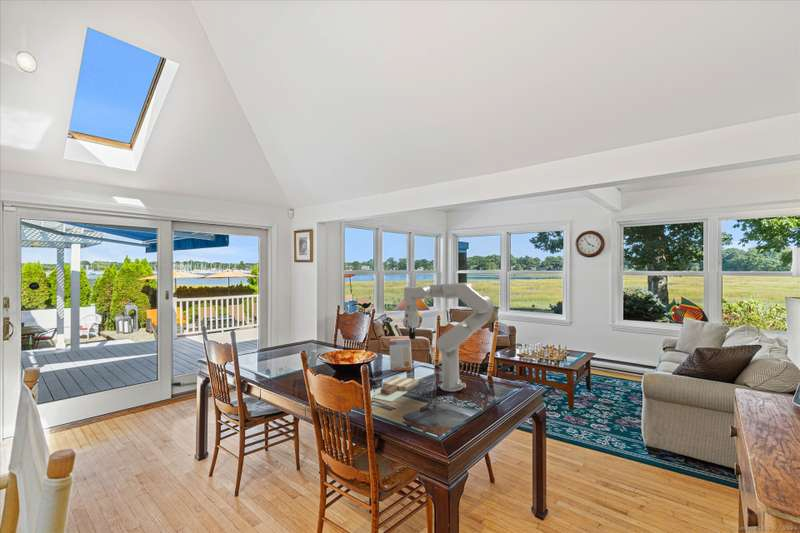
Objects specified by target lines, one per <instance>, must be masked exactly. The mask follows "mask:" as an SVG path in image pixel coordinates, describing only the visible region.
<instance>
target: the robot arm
mask: <svg viewBox="0 0 800 533" xmlns="http://www.w3.org/2000/svg"><path fill="white" fill-rule="evenodd" d="M403 297H404V298H403V302H404V318H403V319H404V327H405V330H406V331H407V332H408V335H409V336H408V338H409V339H410V340H416V330H417V328H418V327H419V326H420V315H419V310H418V309H419V308H418V300H421V301H422V300H425V299H429V298H430V299H431V298H432V299H433V298H443V299H444V300H445V299H446V300H450V299H454V300H455V299H459V300H461V301H462V302H463V303H464V304H465V305H466V306H467V307H469V308H470V309H471V310H472V311H474V312H473V313H471V315H469V316H468V317H467V318H465V319H464V320H463V321H461V322H459V323H457V324H456V325H454V326H452V328H450V329H449V330H447V331H446V332H445V333H443V334H442V335H441V336H439V337H438V339H437V341H436V348H437V351H440V352H441V374H442V377H441V380H442V383H441V384H440V386H439V388H440V390H442V391H445V392H459V391H461V390H462V389H463V388H464V389H466V387H467V384H466V382H462V379H461V378H460V364H459V363H460V360H459V355H460V354H459V351H460V350H459V349H460V348H459V347H460V346H461V345H462V344H464V342H466V341H467V340H469V338H470V337H471V336H472V335H473V334H474V333H476V332H477V331H478V330H480V329H481V328H483V327H484V326H485V325H486V324H487V323H488V322H489V321H490V319H491V318H492V315H493V312H494V304H493V301H492V299H491V298H490V297H489V296H487V295H480V294H479V293H478V292H476V291H475V287H474V285H473V284H472V283H470V282H457V283H443V284H427V285H422V286H417V287H416V286H406V287H404V288H403Z"/></svg>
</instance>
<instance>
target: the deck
mask: <svg viewBox="0 0 800 533" xmlns="http://www.w3.org/2000/svg"><path fill="white" fill-rule="evenodd" d="M419 380H420V379H417V378H415V379H414V378H410V377H405V376H403V377H401V376H394V377H392V378H391V379H388V380H386V381H385V382H383V383H382V387H385V386H387V385H389V384H391V385H397V386H398V387H399V390H401V391H407V392H409V391H410V390H411V389H413V388H415V387H417V386H418V385H420V381H419Z"/></svg>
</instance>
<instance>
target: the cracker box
mask: <svg viewBox="0 0 800 533" xmlns="http://www.w3.org/2000/svg"><path fill="white" fill-rule="evenodd" d="M411 340H412V339H409V337H408V338H406V337H404V338H402V337H399V338H390V339H389V341H388V342H389V359H390V360H389V362H390V372H401V371H402V372H408V371H409V372H411V371H412V369H413V362H412V361H413V360H412V344H411Z"/></svg>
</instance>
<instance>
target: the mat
mask: <svg viewBox="0 0 800 533" xmlns="http://www.w3.org/2000/svg"><path fill="white" fill-rule="evenodd" d="M382 388H384V387H383V386H380V387H378V388H376V389H375V390H373V391H371V392H373V395H372V398H371V399H376V400H379V401H380V400H381V401H385V402H389V403H392V402H393V401H396V400H397V399H399V398H400V397H402V396H403V395H405V394H407V393H408V391H401V390H398V391H396V392H394V393H393V394H391V395H386V394H381V389H382ZM374 391H375V392H374ZM374 395H375V396H374Z"/></svg>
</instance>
